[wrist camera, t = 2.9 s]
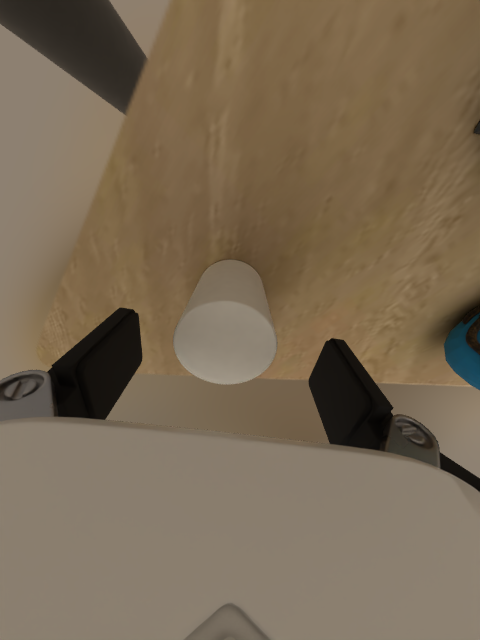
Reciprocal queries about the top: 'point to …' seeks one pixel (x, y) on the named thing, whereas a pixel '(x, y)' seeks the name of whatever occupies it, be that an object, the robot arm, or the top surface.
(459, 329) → the ornament
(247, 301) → the white cylinder
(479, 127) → the dark grey divided tray
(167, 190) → the top surface
